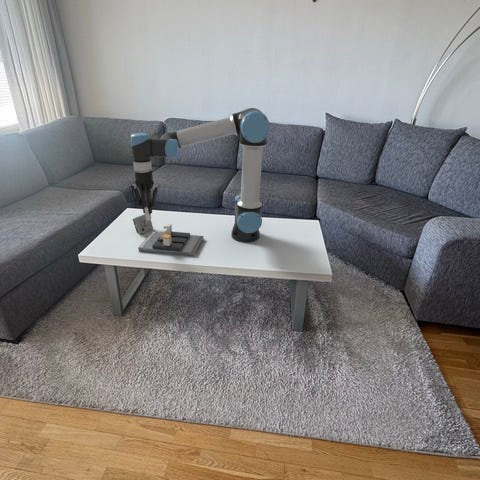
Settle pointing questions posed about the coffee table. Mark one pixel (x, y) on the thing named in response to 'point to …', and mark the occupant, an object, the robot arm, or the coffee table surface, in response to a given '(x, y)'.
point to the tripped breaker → (167, 240)
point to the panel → (183, 252)
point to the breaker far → (168, 228)
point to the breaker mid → (163, 232)
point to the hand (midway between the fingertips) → (148, 219)
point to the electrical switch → (142, 224)
